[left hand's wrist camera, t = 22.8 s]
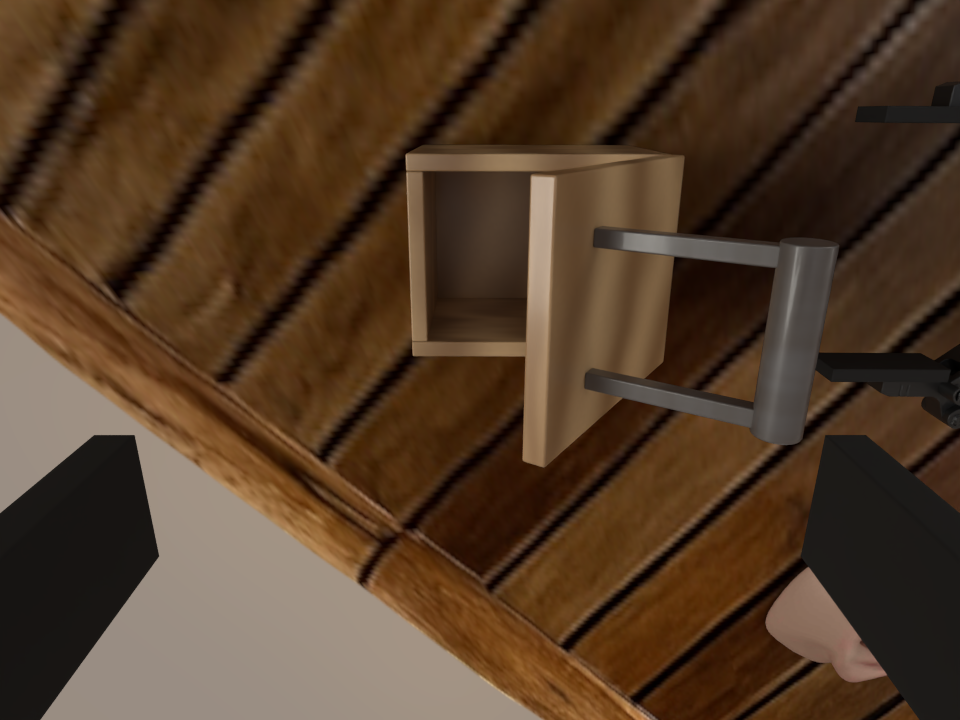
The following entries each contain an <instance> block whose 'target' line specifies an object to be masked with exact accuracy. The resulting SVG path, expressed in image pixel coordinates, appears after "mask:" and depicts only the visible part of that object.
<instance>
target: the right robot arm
mask: <svg viewBox="0 0 960 720" xmlns="http://www.w3.org/2000/svg"><path fill="white" fill-rule="evenodd" d="M855 122H882V123H960V82H946V83H944V84H941V85H939V86H936V88H935V92H934V96H933V101H932V105H931V106H866V107H858V110H857V115H856V120H855ZM815 370H816V371H818V372H819V373H820V374H822V375H823V376H824V377H826V378H827V379H828V380H830V381H831V382H868V384H869V385H870V386H872V387H873V388H874V389H876V390H877V391H879V392H880V393H882V394H884V395H887V396H913V397H925V398H924V399H923V400H922V408H923V409H924V410H926V411H927V412H929V413H930V414H931V415H933V416H934V417H936V418H937V419H939V420H940V421H942V422H943V423H945V424H947V425H948V426H950V427H951V428H955V429H958V428H960V344H959V345H957V346H956V347H954V348H953V349H951V350H950V351H948V352H947V353H945V354H944V355H942V356H941V357H939V358H937V359H936V360H932V359H930V358H928V357H926V356H925V355H923V354H921V353H819V354H818V359H817V364H816V369H815Z"/></svg>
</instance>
